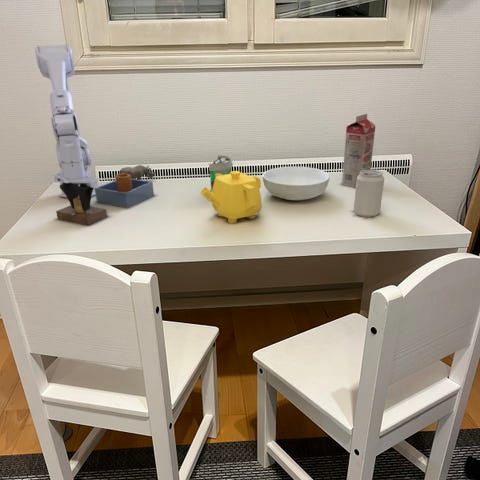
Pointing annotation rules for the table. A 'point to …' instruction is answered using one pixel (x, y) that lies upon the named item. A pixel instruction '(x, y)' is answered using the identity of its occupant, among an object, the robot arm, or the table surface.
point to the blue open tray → (124, 193)
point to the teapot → (235, 195)
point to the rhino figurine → (137, 172)
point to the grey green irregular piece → (220, 168)
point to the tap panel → (82, 215)
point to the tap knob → (78, 206)
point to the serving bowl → (295, 182)
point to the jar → (123, 182)
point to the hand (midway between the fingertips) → (81, 208)
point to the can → (368, 193)
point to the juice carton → (357, 149)
